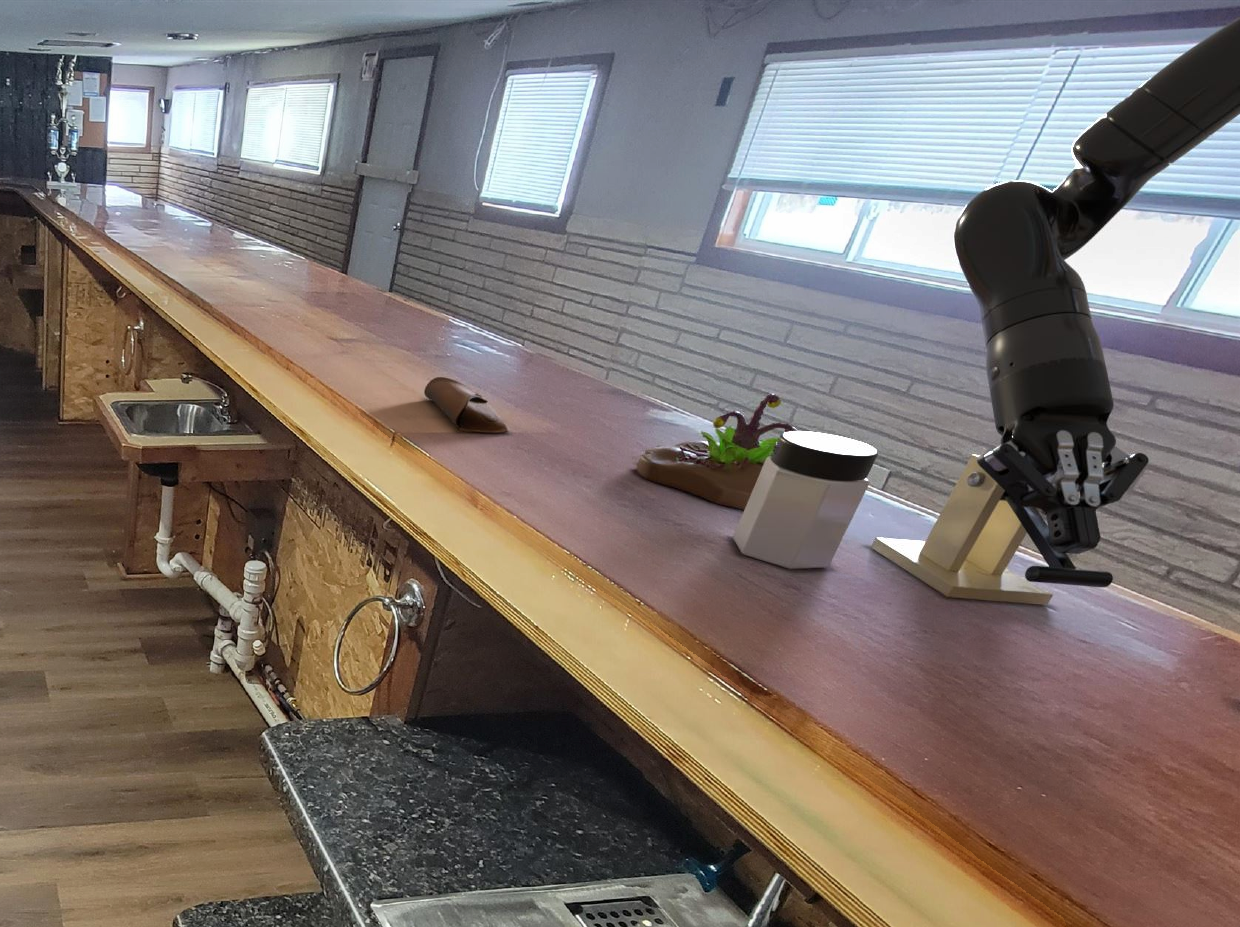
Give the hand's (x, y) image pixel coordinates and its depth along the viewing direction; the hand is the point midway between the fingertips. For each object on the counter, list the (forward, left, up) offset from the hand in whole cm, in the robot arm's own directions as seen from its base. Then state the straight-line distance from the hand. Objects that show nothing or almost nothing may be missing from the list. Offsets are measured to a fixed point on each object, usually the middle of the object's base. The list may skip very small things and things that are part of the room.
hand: (1077, 550), depth 79 cm
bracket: (0, -10, -7) cm, 13 cm away
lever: (0, -6, -1) cm, 6 cm away
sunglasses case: (+38, -59, -7) cm, 71 cm away
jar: (+16, -12, -7) cm, 22 cm away
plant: (+10, -35, -7) cm, 37 cm away
